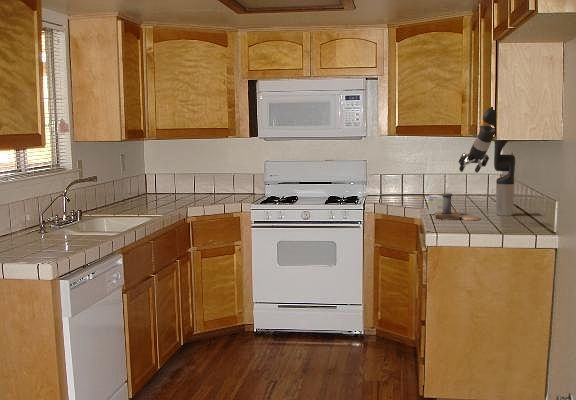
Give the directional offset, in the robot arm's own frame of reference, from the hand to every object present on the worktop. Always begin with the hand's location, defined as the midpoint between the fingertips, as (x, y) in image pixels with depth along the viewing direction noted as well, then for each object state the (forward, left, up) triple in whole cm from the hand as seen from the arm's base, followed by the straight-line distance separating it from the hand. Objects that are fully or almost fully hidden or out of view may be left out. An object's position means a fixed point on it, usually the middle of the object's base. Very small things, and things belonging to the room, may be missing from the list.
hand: (468, 171), depth 321 cm
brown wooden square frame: (-15, -9, -26) cm, 32 cm away
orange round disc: (-12, +3, -26) cm, 29 cm away
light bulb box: (-31, -12, -26) cm, 42 cm away
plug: (-15, -9, -26) cm, 32 cm away
